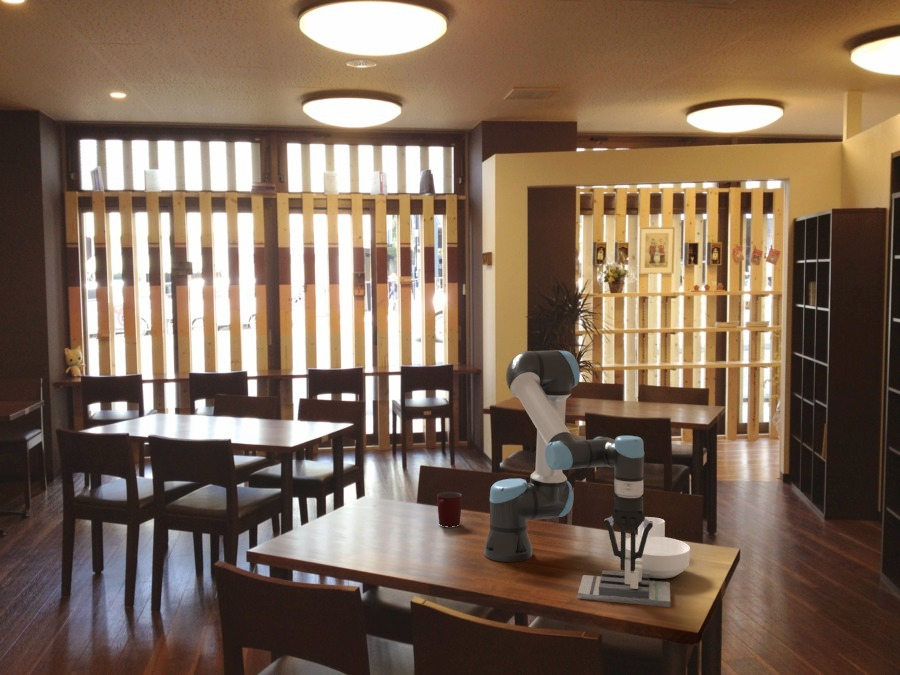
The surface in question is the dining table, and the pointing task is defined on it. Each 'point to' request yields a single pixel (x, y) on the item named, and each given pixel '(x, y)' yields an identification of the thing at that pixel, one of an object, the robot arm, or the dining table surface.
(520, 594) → the dining table surface
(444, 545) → the dining table surface
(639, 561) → the breaker far
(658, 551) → the bowl
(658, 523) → the mug
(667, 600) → the panel
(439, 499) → the mug
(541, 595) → the dining table surface
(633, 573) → the breaker near
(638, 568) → the block
